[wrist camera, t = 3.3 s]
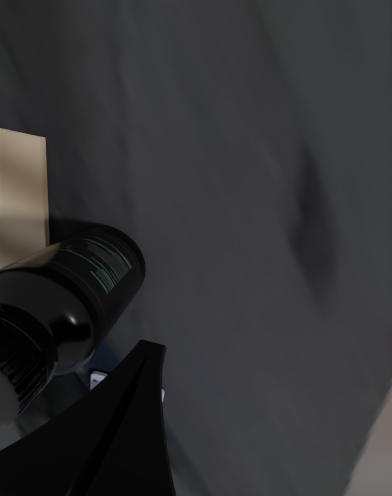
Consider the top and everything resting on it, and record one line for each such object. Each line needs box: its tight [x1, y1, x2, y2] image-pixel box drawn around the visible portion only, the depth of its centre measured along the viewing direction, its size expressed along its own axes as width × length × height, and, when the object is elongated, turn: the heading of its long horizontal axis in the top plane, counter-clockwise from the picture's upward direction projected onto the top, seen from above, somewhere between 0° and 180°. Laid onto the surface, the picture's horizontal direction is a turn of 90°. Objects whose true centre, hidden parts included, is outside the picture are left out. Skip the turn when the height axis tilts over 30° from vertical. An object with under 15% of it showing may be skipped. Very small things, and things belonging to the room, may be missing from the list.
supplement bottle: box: [0, 226, 146, 427], centre depth 15 cm, size 7×7×12 cm
